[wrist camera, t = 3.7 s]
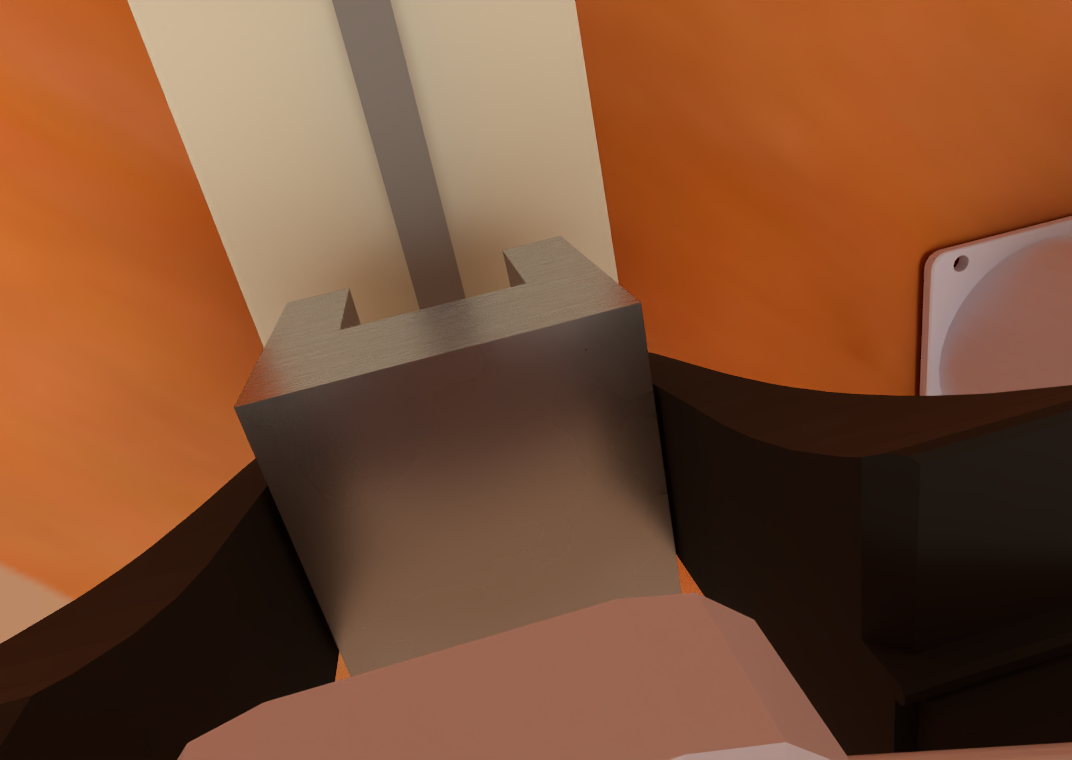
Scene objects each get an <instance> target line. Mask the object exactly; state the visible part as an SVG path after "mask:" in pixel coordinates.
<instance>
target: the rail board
mask: <svg viewBox="0 0 1072 760" xmlns="http://www.w3.org/2000/svg"><path fill="white" fill-rule="evenodd" d="M127 1H128V3H129V6H130V8H131V11H132V13H133V16H134V18H135V21H136V24H137V26H138V29H139V31H140V34H141V36H142V39H143V41H144V44H145V46H146V49H147V52H148V54H149V57H150V59H151V62H152V64H153V67H154V69H155V72H156V75H157V77H158V80H159V82H160V85H161V87H162V90H163V92H164V95H165V97H166V100H167V103H168V105H169V108H170V110H171V113H172V115H173V118H174V120H175V123H176V125H177V128H178V131H179V133H180V136H181V138H182V141H183V143H184V146H185V148H186V151H187V153H188V156H189V159H190V161H191V164H192V166H193V169H194V171H195V174H196V176H197V179H198V181H199V184H200V187H201V189H202V192H203V194H204V197H205V199H206V202H207V204H208V207H209V209H210V212H211V215H212V217H213V220H214V222H215V225H216V227H217V230H218V232H219V235H220V237H221V240H222V243H223V245H224V248H225V250H226V253H227V255H228V258H229V260H230V263H231V265H232V268H233V271H234V273H235V276H236V278H237V281H238V283H239V286H240V288H241V291H242V293H243V296H244V299H245V301H246V304H247V306H248V309H249V311H250V314H251V316H252V319H253V321H254V324H255V327H256V329H257V332H258V334H259V337H260V339H261V342H262V344H263V347H265V345H266V343H267V341H268V339H269V337H270V335H271V333H272V331H273V329H274V328H275V326H276V324H277V322H278V320H279V318H280V316H281V314H282V312H283V310H284V308H285V306H286V304H287V303H289V302H293V301H297V300H301V299H305V298H309V297H313V296H317V295H321V294H325V293H329V292H334V291H338V290H342V289H346V288H349V289H350V292H351V295H352V298H353V301H354V304H355V307H356V310H357V313H358V317H359V320H360V323H361V325H362V324H366V323H370V322H374V321H378V320H382V319H386V318H390V317H394V316H398V315H402V314H406V313H410V312H414V311H418V310H422V309H426V308H430V307H434V306H438V305H442V304H446V303H450V302H454V301H458V300H462V299H466V298H470V297H474V296H478V295H482V294H486V293H490V292H494V291H498V290H502V289H506V288H510V282H509V278H508V273H507V269H506V264H505V260H504V255H503V251H502V250H505V249H509V248H513V247H517V246H521V245H525V244H530V243H534V242H538V241H542V240H546V239H550V238H554V237H558V236H561V237H563V238H564V239H565V240H566V241H567V242H569V243H570V244H571V245H572V246H574V247H575V248H576V249H577V250H578V251H580V252H581V253H582V254H583V255H584V256H586V257H587V258H588V259H589V260H590V261H592V262H593V263H594V264H595V265H596V266H598V267H599V268H600V269H601V270H602V271H604V272H605V273H606V274H607V275H608V276H610V277H611V278H612V279H613V280H615V281H616V282H617V283H618V276H617V270H616V263H615V257H614V250H613V244H612V237H611V231H610V224H609V218H608V211H607V205H606V198H605V192H604V185H603V179H602V172H601V166H600V160H599V153H598V147H597V140H596V134H595V127H594V121H593V114H592V108H591V101H590V95H589V88H588V82H587V75H586V69H585V62H584V56H583V49H582V43H581V36H580V30H579V24H578V17H577V11H576V4H575V0H127ZM618 284H619V283H618Z"/></svg>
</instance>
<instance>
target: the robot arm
mask: <svg viewBox="0 0 1072 760" xmlns="http://www.w3.org/2000/svg"><path fill="white" fill-rule="evenodd" d="M958 257H959V262H958V264H957V265H956V267H954V266H953V265H954V262H955V260H956V259H957V258H958ZM648 357H649V364H650V371H651V379H652V386H653V393H654V400H655V407H656V414H657V422H658V429H659V436H660V443H661V450H662V458H663V465H664V472H665V479H666V486H667V494H668V501H669V508H670V515H671V522H672V529H673V537H674V544H675V551H676V554H677V556H678V557H679V559H680V560H681V562H682V563H683V565H684V566H685V568H686V569H687V571H688V572H689V574H690V575H691V577H692V578H693V580H694V581H695V583H696V584H697V586H698V587H699V589H700V590H701V591H702V593H703V594H704V596H705V597H704V596H702V595H700V594H698V593H686V594H673V595H660V596H646V597H633V598H620V599H615V600H611V601H608V602H605V603H601V604H598V605H594V606H591V607H588V608H584V609H581V610H577V611H574V612H571V613H567V614H564V615H560V616H557V617H554V618H550V619H547V620H543V621H540V622H536V623H533V624H530V625H526V626H523V627H519V628H516V629H513V630H509V631H506V632H502V633H499V634H496V635H492V636H489V637H485V638H482V639H479V640H475V641H472V642H468V643H465V644H461V645H458V646H455V647H451V648H448V649H444V650H441V651H438V652H434V653H431V654H427V655H424V656H421V657H417V658H414V659H410V660H407V661H403V662H400V663H397V664H393V665H390V666H386V667H383V668H380V669H376V670H373V671H369V672H366V673H363V674H359V675H356V676H352V677H349V678H346V679H342V680H339V681H335V676H336V670H337V663H338V656H339V648H338V646H337V644H336V641H335V639H334V637H333V635H332V632H331V630H330V628H329V625H328V623H327V621H326V618H325V616H324V614H323V611H322V609H321V607H320V605H319V602H318V600H317V598H316V595H315V593H314V591H313V588H312V586H311V584H310V582H309V579H308V577H307V575H306V572H305V570H304V568H303V565H302V563H301V561H300V558H299V556H298V554H297V552H296V549H295V547H294V545H293V542H292V540H291V538H290V535H289V533H288V531H287V528H286V526H285V524H284V522H283V519H282V517H281V515H280V512H279V510H278V508H277V505H276V503H275V501H274V499H273V496H272V494H271V492H270V489H269V487H268V485H267V482H266V480H265V478H264V475H263V473H262V471H261V469H260V466H259V464H258V462H257V459H254V460H253V461H252V462H251V463H249V464H248V465H247V466H246V467H245V468H244V469H242V470H241V471H240V472H239V473H238V474H237V475H236V476H234V477H233V478H232V479H231V480H230V481H229V482H228V483H227V484H225V485H224V486H223V487H222V488H221V489H220V490H219V491H217V492H216V493H215V494H214V495H213V496H212V497H211V498H210V499H208V500H207V501H206V502H205V503H204V504H203V505H202V506H200V507H199V508H198V509H197V510H196V511H195V512H193V513H192V514H191V515H190V516H188V517H187V518H186V519H185V520H184V521H182V522H181V523H180V524H179V525H177V526H176V527H175V528H174V529H172V530H171V531H170V532H169V533H168V534H166V535H165V536H164V537H163V538H161V539H160V540H159V541H158V542H157V543H155V544H154V545H153V546H152V547H150V548H149V549H148V550H146V551H145V552H144V553H142V554H141V555H140V556H138V557H137V558H136V559H134V560H133V561H132V562H130V563H129V564H127V565H126V566H125V567H123V568H122V569H120V570H119V571H118V572H116V573H115V574H113V575H112V576H110V577H109V578H107V579H106V580H104V581H103V582H101V583H100V584H98V585H97V586H96V587H94V588H93V589H91V590H90V591H88V592H87V593H85V594H83V595H82V596H80V597H79V598H77V599H76V600H74V601H72V602H71V603H69V604H67V605H66V606H64V607H62V608H61V609H59V610H57V611H55V612H54V613H52V614H50V615H49V616H47V617H45V618H44V619H42V620H40V621H39V622H37V623H35V624H34V625H32V626H30V627H28V628H27V629H25V630H23V631H22V632H20V633H18V634H17V635H15V636H13V637H12V638H10V639H8V640H6V641H4V642H3V643H1V644H0V760H1072V216H1069V217H1065V218H1061V219H1057V220H1053V221H1049V222H1045V223H1041V224H1038V225H1034V226H1030V227H1026V228H1022V229H1018V230H1014V231H1010V232H1006V233H1003V234H999V235H995V236H991V237H987V238H983V239H979V240H975V241H971V242H968V243H964V244H960V245H956V246H952V247H948V248H944V249H940V250H938V251H936V252H934V253H933V254H932V255H930V256H929V258H928V259H927V261H926V264H925V268H924V293H923V320H922V347H921V374H920V396H889V395H865V394H847V393H834V392H825V391H817V390H809V389H801V388H793V387H787V386H781V385H775V384H769V383H765V382H760V381H755V380H751V379H746V378H742V377H737V376H733V375H729V374H725V373H721V372H718V371H714V370H710V369H707V368H703V367H700V366H696V365H693V364H689V363H686V362H682V361H679V360H676V359H672V358H669V357H665V356H661V355H658V354H654V353H649V352H648Z"/></svg>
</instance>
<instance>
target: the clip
mask: <svg viewBox="0 0 1072 760" xmlns="http://www.w3.org/2000/svg"><path fill="white" fill-rule="evenodd" d="M502 251H503V255H504V260H505V264H506V269H507V273H508V278H509V282H510V288H506V289H502V290H498V291H494V292H490V293H486V294H482V295H478V296H474V297H470V298H466V299H462V300H458V301H454V302H450V303H446V304H442V305H438V306H434V307H430V308H426V309H422V310H418V311H414V312H410V313H406V314H402V315H398V316H394V317H390V318H386V319H382V320H378V321H374V322H370V323H366V324H362V325H361V323H360V320H359V317H358V313H357V310H356V307H355V304H354V301H353V298H352V295H351V292H350V289H349V288H346V289H342V290H338V291H334V292H329V293H325V294H321V295H317V296H313V297H309V298H305V299H301V300H297V301H293V302H289V303H287V304H286V306H285V308H284V310H283V312H282V314H281V316H280V318H279V320H278V322H277V324H276V326H275V328H274V329H273V331H272V333H271V335H270V337H269V339H268V341H267V343H266V345H265V347H264V349H263V351H262V353H261V355H260V357H259V359H258V361H257V363H256V365H255V367H254V369H253V371H252V373H251V375H250V377H249V379H248V381H247V383H246V385H245V387H244V389H243V391H242V393H241V395H240V396H239V398H238V400H237V402H236V404H235V406H234V409H235V411H236V413H237V416H238V418H239V420H240V422H241V425H242V427H243V429H244V432H245V434H246V436H247V439H248V441H249V443H250V445H251V448H252V450H253V452H254V455H255V457H256V459H257V462H258V464H259V466H260V469H261V471H262V473H263V475H264V478H265V480H266V482H267V485H268V487H269V489H270V492H271V494H272V496H273V499H274V501H275V503H276V505H277V508H278V510H279V512H280V515H281V517H282V519H283V522H284V524H285V526H286V528H287V531H288V533H289V535H290V538H291V540H292V542H293V545H294V547H295V549H296V552H297V554H298V556H299V558H300V561H301V563H302V565H303V568H304V570H305V572H306V575H307V577H308V579H309V582H310V584H311V586H312V588H313V591H314V593H315V595H316V598H317V600H318V602H319V605H320V607H321V609H322V611H323V614H324V616H325V618H326V621H327V623H328V625H329V628H330V630H331V632H332V635H333V637H334V639H335V641H336V644H337V646H338V648H339V651H340V653H341V655H342V658H343V660H344V662H345V665H346V667H347V669H348V671H349V674H350V676H351V677H352V676H356V675H359V674H363V673H366V672H369V671H373V670H376V669H380V668H383V667H386V666H390V665H393V664H397V663H400V662H403V661H407V660H410V659H414V658H417V657H421V656H424V655H427V654H431V653H434V652H438V651H441V650H444V649H448V648H451V647H455V646H458V645H461V644H465V643H468V642H472V641H475V640H479V639H482V638H485V637H489V636H492V635H496V634H499V633H502V632H506V631H509V630H513V629H516V628H519V627H523V626H526V625H530V624H533V623H536V622H540V621H543V620H547V619H550V618H554V617H557V616H560V615H564V614H567V613H571V612H574V611H577V610H581V609H584V608H588V607H591V606H594V605H598V604H601V603H605V602H608V601H611V600H615V599H620V598H633V597H646V596H660V595H673V594H681V587H680V580H679V573H678V565H677V558H676V551H675V544H674V537H673V529H672V522H671V515H670V508H669V501H668V494H667V486H666V479H665V472H664V465H663V458H662V450H661V443H660V436H659V429H658V422H657V414H656V407H655V400H654V393H653V386H652V379H651V371H650V364H649V357H648V350H647V343H646V335H645V328H644V321H643V314H642V307H641V302H640V301H639V300H637V299H636V298H635V297H634V296H633V295H631V294H630V293H629V292H628V291H627V290H625V289H624V288H623V287H622V286H621V285H619V284H618V283H617V282H616V281H615V280H613V279H612V278H611V277H610V276H608V275H607V274H606V273H605V272H604V271H602V270H601V269H600V268H599V267H598V266H596V265H595V264H594V263H593V262H592V261H590V260H589V259H588V258H587V257H586V256H584V255H583V254H582V253H581V252H580V251H578V250H577V249H576V248H575V247H574V246H572V245H571V244H570V243H569V242H567V241H566V240H565V239H564V238H563V237H561V236H558V237H554V238H550V239H546V240H542V241H538V242H534V243H530V244H525V245H521V246H517V247H513V248H509V249H505V250H502Z"/></svg>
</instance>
